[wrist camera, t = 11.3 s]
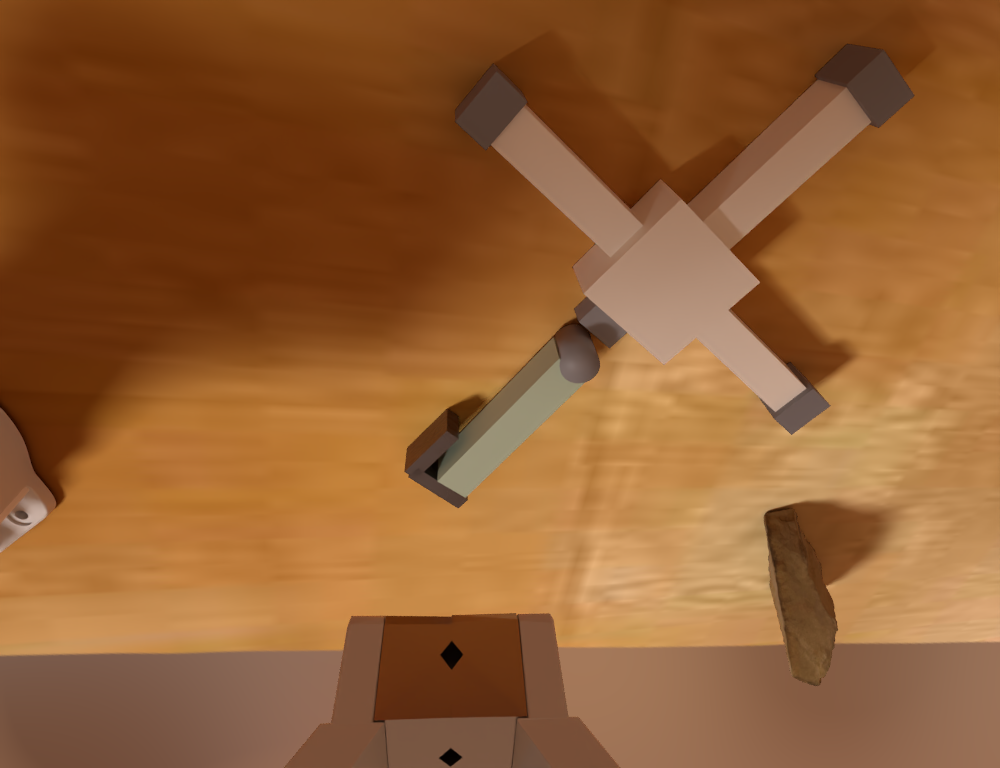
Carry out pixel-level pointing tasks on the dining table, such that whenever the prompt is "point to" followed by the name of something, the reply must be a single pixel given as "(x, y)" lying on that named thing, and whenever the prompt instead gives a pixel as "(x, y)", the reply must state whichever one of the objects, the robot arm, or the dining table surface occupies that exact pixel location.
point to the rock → (800, 598)
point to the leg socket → (434, 456)
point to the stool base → (691, 220)
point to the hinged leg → (519, 409)
